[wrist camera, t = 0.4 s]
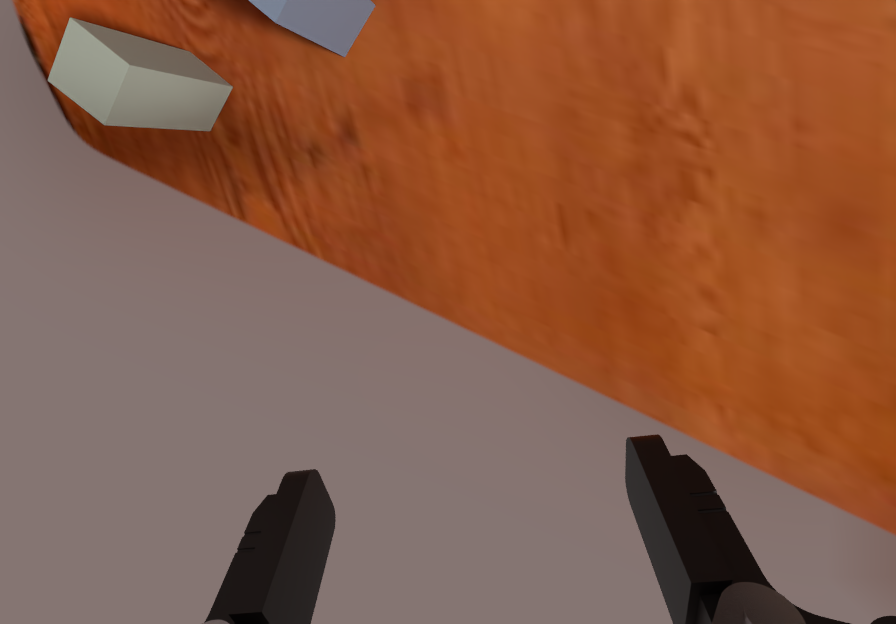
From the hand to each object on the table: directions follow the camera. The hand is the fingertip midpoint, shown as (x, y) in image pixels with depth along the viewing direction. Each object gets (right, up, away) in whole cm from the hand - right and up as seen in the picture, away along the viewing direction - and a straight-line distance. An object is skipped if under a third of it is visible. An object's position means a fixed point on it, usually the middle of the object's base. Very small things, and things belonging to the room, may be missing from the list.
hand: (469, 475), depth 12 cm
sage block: (-20, +21, +24) cm, 38 cm away
